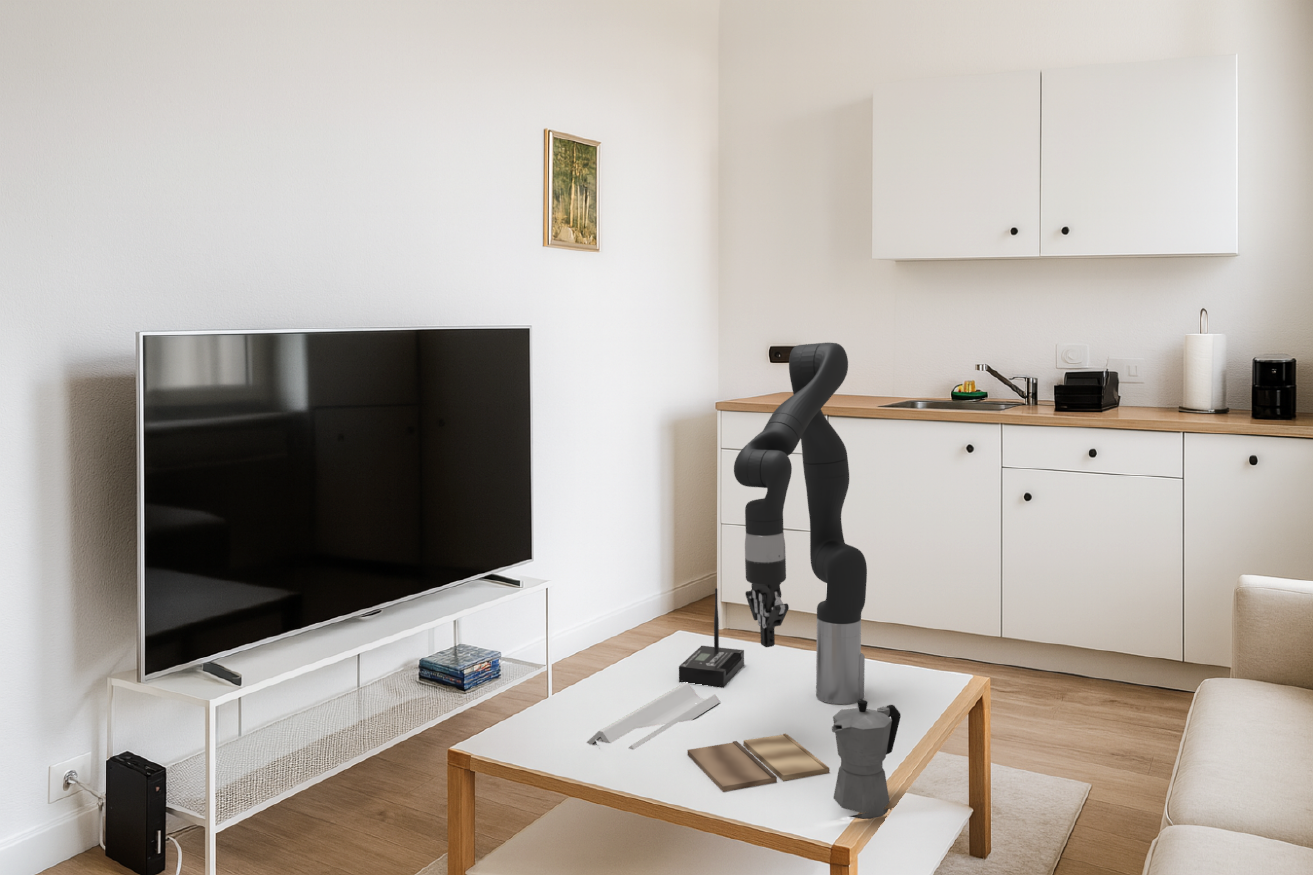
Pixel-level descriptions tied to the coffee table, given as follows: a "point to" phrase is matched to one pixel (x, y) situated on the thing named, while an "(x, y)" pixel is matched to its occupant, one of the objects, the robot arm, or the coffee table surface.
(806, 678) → the coffee table surface
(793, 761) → the oak plank
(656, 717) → the crown molding
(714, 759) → the walnut board
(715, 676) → the wireless controller
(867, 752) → the coffeepot
